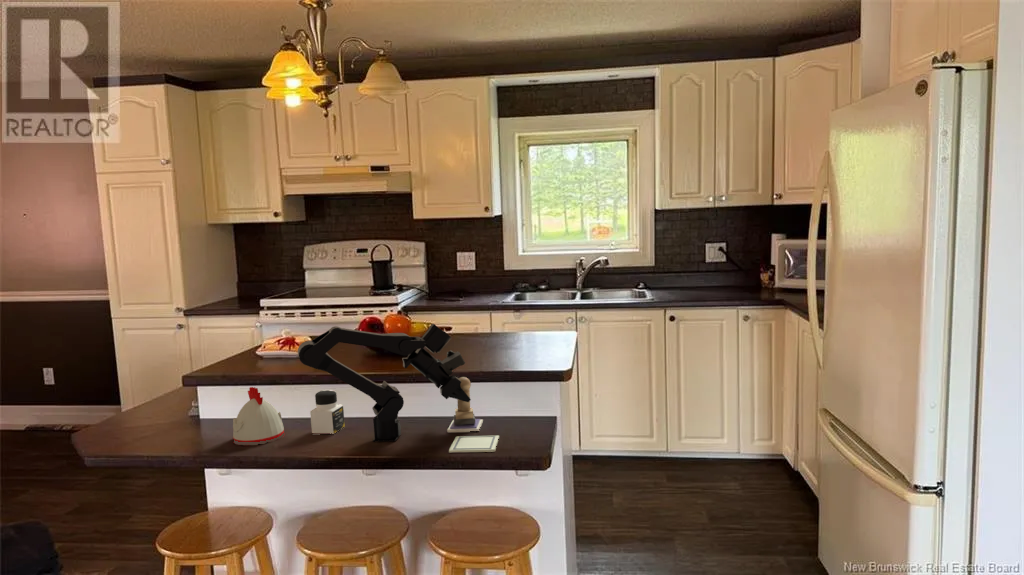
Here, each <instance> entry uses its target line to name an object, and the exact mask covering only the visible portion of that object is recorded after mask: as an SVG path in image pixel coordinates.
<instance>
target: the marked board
mask: <svg viewBox="0 0 1024 575" xmlns="http://www.w3.org/2000/svg"><path fill="white" fill-rule="evenodd" d="M498 439H499V440H500V435H466V436H464V435H463V436H461V435H460V436H455V438H454V440H453V442H452V443H451V445H450V447H449V449H448V453H449V454H450V453H485V452H487V453H491V452H492V453H495V452H496V449H497V447H498V443H499V440H498ZM496 446H497V447H496Z"/></svg>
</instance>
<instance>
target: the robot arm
mask: <svg viewBox="0 0 1024 575" xmlns="http://www.w3.org/2000/svg"><path fill="white" fill-rule="evenodd" d="M450 340H452V337H451V336H450V335H449V334H448V333H447V332H446V331H445V330H443V329H441V328H440V327H438V326H437V325H436V324H434V323H431V325H430V326H429V327H428V328H427V331H426V332H425V333H424V334H423V335H422V336H421V337H420V336H410V335H408V334H407V333H404V332H390V333H377V332H370V331H364V330H357V329H351V328H346V327H345V328H344V327H340V326H336V325H335V326H332V327H331V328H330V329H328V330H326V332H323V333H322V334H320V335H318V336H316V337H315V338H313V339H312V340H307V341H303V342H301V343H300V344H299V346H298V348H297V356H298V358H299V361H300V363H301V364H303V365H304V366H307V367H309V368H313V369H315V370H318V371H319V370H320V371H323V372H326V373H328V374H330V375H331V376H333V377H335V378H337V379H338V380H341V381H342V382H344V383H346V384H348V385H349V386H351V387H352V388H354V389H356V390H358V391H360V392H361V393H364V394H365V395H367V396H368V397H369V398H371V399H372V400H373V401H375V404H374V405H373V406H372V411H373V413H374V415H375V416H374V417H372V419H373V420H372V421H373V434H374V435H373V436H374V437H373V438H372V442H373V443H374V442H375V443H377V442H379V443H380V442H383V443H385V442H396V441H397V440H398V439H399V437H400V436H401V434H402V432H401V430H402V429H401V420H399V412H401V410H402V409H403V407H404V403H405V401H404V397H403V396H402V395H401V394H400V393H401V392H400V390H399V389H398V388H397V387H396V386H393V385H390V384H389V383H388V382H387V381H385V380H383V382H382V383H381V384H379V383H376V382H375V381H373V380H371V379H369V378H367V377H365V376H364V375H363V374H360V373H359V372H357V371H355V370H353V369H352V368H350V367H348V366H347V365H345V364H343V363H342V362H340V361H338V360H336V359H335V358H333V357H332V356H331V355H330V354H329V353H328V352H329V351H331V349H333V348H334V347H335V346H336V345H338V344H339V343H343V344H350V345H355V346H364V347H371V348H377V349H382V350H383V351H387V352H390V353H393V354H395V355H399V356H401V357H402V356H403V357H402V358H401V359H402V367H403V368H404V369H407V368H408V367H409V366H410V365H412V367H414V368H415V369H416V370H418V372H420V373H421V374H422V375H423V376H424V377H425V379H426V380H429V381H430V382H432V383H433V384H434V385H435V386H436V388H437V389H439V392H440V395H441V396H442V397H444V398H445V399H446V400H448V399H449V398H452V399H455V400H457V399H458V400H462V401H465V402H469V401H470V402H471V400H472V399H471V397H470V398H469V396H468V395H467V394H466V393H465V392H464V390H463V389H462V388H461V385H460V384H461V381H460V379H459V377H458V376H457V377H456V376H455V375H454V376H453V375H452V374H454V373H453V372H454V371H455V370H456V369H457V368H459V367H460V366H461V367H462V366H463V365H464V366H465V364H466V362H465V360H464V358H463V356H462V354H461V353H460V351H453V350H451V349H450V350H449V351H447V352H446V357H445V358H444V359H442V360H440V358H435V356H434V355H432V354H435V353H436V354H439V353H441V351H442V350H443V348H444V347H445V346H446V345H447V344H448V343H449V342H450ZM425 348H426V349H427V350H426V349H425ZM428 350H429V351H428ZM430 352H431V353H432V354H431V353H430ZM452 370H454V371H453V372H452ZM450 375H451V376H450ZM458 400H457V401H458Z"/></svg>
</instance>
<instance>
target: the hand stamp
mask: <svg viewBox="0 0 1024 575" xmlns="http://www.w3.org/2000/svg"><path fill="white" fill-rule="evenodd" d="M458 379H460V381H461V384H460V385H461V388H462V389H463V390H464V392H465V393H466V394H467V395H468V396H469V398H470V399H471V397H470V396H471V395H470V394H471V393H470V391H471V390H470V389H471V386H472V384H471V381H470V378H467V377H466V376H461V377H458ZM456 400H457V408H455V409H454V410H455V411H454V412H455V414H453V420H454V425H461V424H475V419H476V417H475V416H476V415H475V413H474V410H473V407H471V400H470V401H469V402H465V401H462V400H458V399H456Z"/></svg>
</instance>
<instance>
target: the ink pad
mask: <svg viewBox="0 0 1024 575" xmlns="http://www.w3.org/2000/svg"><path fill="white" fill-rule="evenodd" d="M483 422H484V419H481V418H475V424H461V425H454V419H453V420H452V421H451V423H450V424H449V427H448V428H447V429H446V431H447V433H471V432H470V431H479V432H480V430H481V428H482V425H483ZM480 427H481V428H480ZM479 429H480V430H479Z"/></svg>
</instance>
